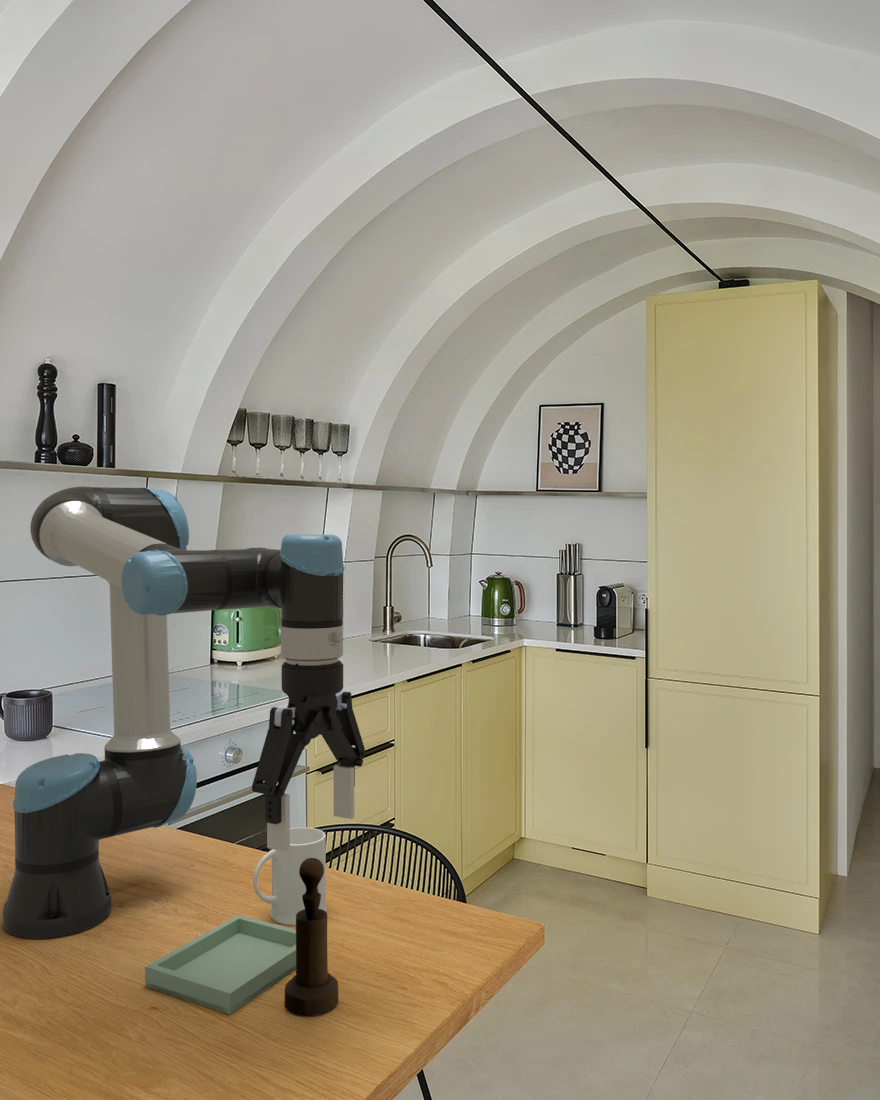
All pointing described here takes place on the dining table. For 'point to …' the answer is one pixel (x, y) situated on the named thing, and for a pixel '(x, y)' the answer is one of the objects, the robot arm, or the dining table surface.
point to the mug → (293, 874)
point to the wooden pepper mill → (311, 952)
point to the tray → (226, 964)
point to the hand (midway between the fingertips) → (312, 832)
